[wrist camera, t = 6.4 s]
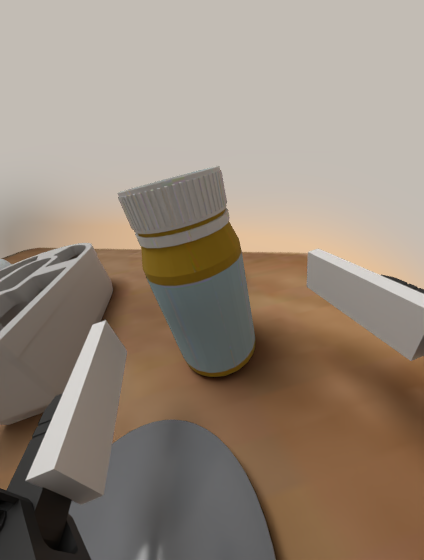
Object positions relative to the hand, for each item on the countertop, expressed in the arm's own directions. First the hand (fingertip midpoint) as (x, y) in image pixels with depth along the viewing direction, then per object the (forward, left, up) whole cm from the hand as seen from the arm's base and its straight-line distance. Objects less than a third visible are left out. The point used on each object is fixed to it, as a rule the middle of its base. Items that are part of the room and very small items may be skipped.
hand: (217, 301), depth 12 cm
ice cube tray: (-23, +17, -8) cm, 30 cm away
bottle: (-1, +3, -8) cm, 9 cm away
